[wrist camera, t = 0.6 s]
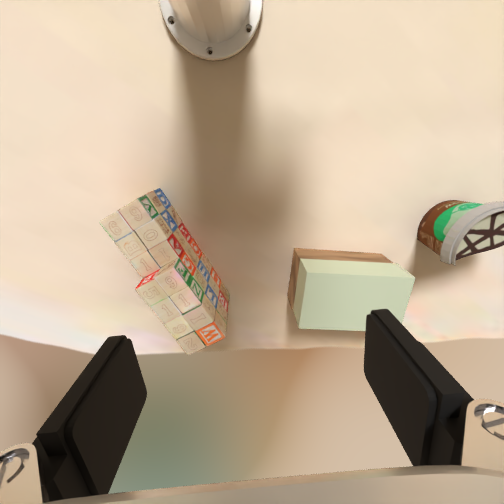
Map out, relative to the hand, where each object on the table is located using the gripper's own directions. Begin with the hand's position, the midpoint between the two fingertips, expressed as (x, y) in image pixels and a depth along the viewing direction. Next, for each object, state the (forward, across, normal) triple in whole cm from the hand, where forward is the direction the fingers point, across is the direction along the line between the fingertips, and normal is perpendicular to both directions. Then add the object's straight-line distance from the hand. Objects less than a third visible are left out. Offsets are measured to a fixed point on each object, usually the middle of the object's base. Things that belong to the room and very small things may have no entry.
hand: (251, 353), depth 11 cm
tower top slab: (+30, -14, +14) cm, 36 cm away
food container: (+35, -32, +5) cm, 47 cm away
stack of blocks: (+35, +12, +7) cm, 37 cm away
